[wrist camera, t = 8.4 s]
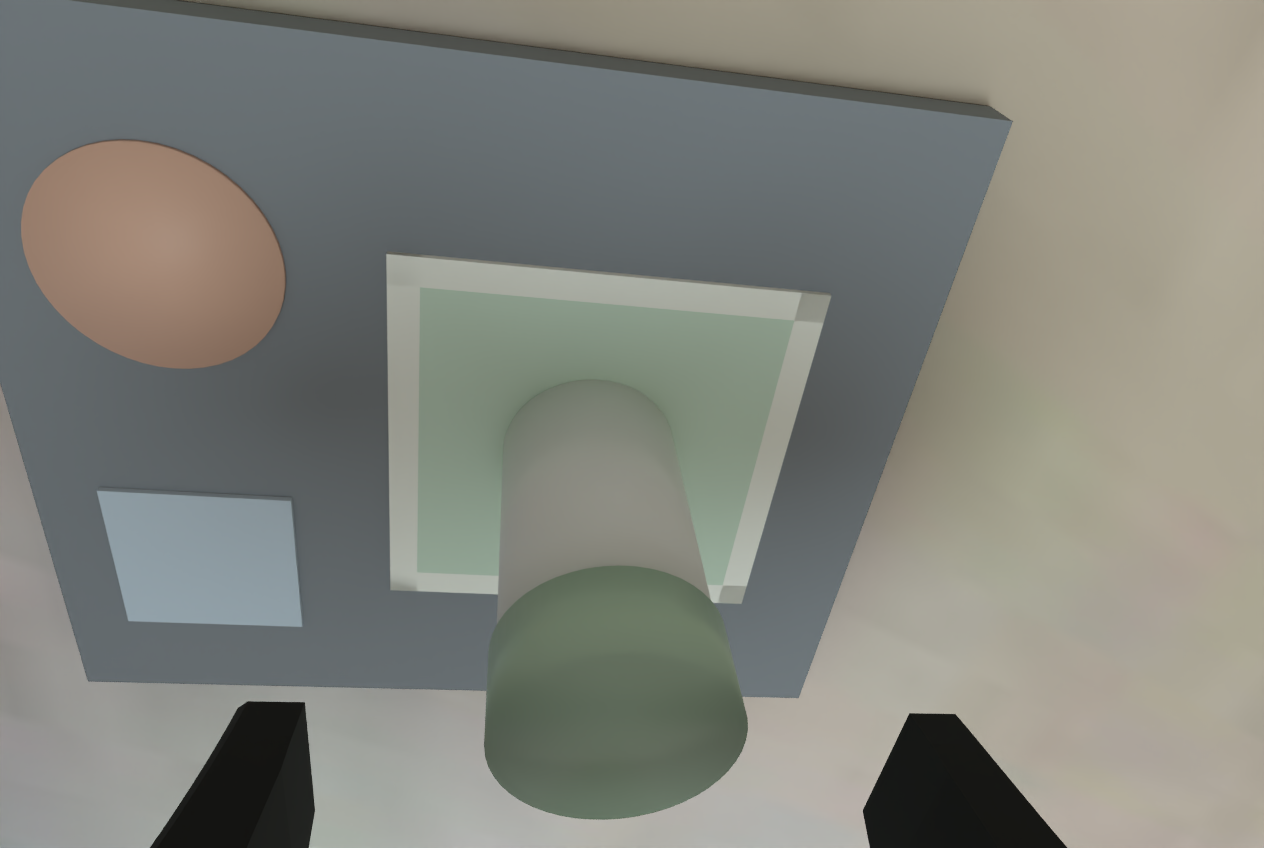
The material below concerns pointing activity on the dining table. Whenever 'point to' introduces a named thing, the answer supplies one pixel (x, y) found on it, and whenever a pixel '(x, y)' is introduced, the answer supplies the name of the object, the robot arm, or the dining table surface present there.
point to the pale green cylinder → (604, 616)
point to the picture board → (438, 323)
